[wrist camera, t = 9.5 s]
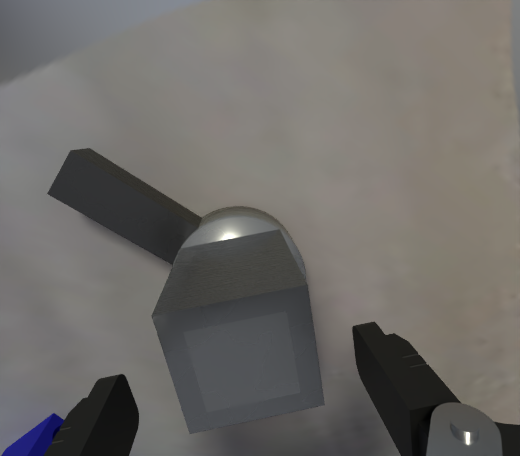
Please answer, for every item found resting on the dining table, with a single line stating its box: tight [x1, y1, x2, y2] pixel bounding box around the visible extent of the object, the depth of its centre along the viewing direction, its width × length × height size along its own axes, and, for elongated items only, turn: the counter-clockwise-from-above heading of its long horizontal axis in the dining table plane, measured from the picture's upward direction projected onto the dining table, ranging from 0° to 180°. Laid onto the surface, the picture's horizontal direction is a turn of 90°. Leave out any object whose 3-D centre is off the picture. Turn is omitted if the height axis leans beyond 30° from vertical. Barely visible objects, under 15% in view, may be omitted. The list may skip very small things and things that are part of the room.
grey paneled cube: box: [152, 229, 325, 434], centre depth 14 cm, size 5×5×6 cm
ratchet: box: [47, 148, 306, 279], centre depth 15 cm, size 14×7×6 cm, turn 55°
